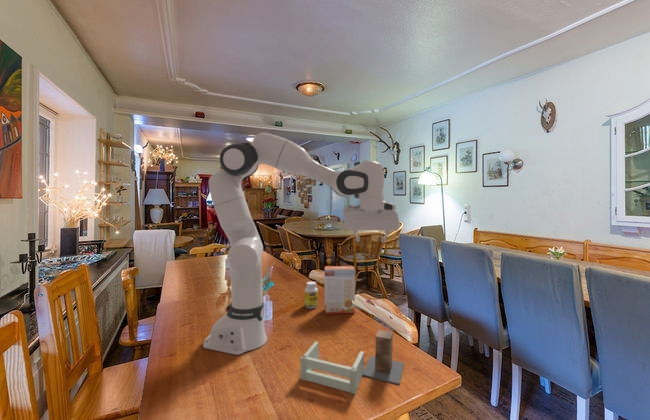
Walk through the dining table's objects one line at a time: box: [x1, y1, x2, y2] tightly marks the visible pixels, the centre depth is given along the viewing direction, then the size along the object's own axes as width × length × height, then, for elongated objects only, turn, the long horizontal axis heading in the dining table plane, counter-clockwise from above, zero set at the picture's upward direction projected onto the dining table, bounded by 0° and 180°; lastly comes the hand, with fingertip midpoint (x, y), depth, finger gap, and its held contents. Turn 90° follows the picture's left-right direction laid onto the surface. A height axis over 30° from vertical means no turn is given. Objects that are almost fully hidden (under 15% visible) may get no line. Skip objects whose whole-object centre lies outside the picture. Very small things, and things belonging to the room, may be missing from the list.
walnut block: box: [374, 329, 394, 374], centre depth 90 cm, size 4×4×11 cm
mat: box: [362, 355, 405, 386], centre depth 90 cm, size 11×11×1 cm
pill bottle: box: [304, 280, 319, 309], centre depth 140 cm, size 6×6×12 cm
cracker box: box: [324, 265, 356, 314], centre depth 134 cm, size 14×6×21 cm, turn 92°
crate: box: [300, 341, 365, 395], centre depth 87 cm, size 17×10×6 cm, turn 68°
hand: (370, 242), depth 107 cm, fingers open, 8 cm apart
